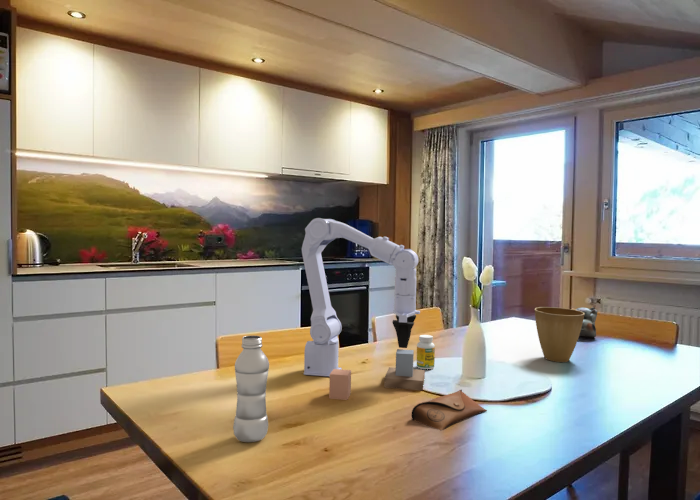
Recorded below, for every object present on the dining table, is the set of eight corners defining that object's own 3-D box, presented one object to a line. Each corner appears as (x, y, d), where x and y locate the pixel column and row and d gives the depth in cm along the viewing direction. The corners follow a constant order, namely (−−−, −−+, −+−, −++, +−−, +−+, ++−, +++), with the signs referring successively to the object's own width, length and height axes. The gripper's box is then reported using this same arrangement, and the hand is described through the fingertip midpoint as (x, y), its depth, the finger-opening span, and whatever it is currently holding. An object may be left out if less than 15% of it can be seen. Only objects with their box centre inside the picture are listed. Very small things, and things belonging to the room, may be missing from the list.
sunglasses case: (442, 431, 99) (430, 399, 101) (419, 438, 104) (407, 408, 106) (489, 410, 111) (477, 382, 114) (466, 418, 116) (455, 390, 118)
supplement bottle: (425, 364, 149) (426, 333, 148) (438, 368, 144) (439, 336, 144) (412, 366, 146) (413, 335, 146) (424, 371, 141) (425, 338, 141)
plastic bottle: (235, 432, 97) (236, 333, 96) (269, 432, 97) (270, 333, 97) (230, 447, 90) (231, 341, 90) (267, 446, 91) (268, 341, 90)
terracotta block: (329, 398, 118) (329, 374, 117) (333, 392, 122) (333, 368, 122) (347, 400, 117) (347, 375, 116) (350, 393, 121) (351, 370, 121)
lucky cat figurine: (551, 333, 197) (557, 302, 201) (575, 344, 199) (580, 313, 204) (578, 330, 183) (584, 296, 188) (604, 341, 185) (608, 308, 190)
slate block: (395, 375, 129) (396, 353, 128) (396, 370, 133) (397, 349, 133) (412, 376, 128) (413, 354, 128) (413, 371, 132) (413, 350, 132)
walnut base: (384, 389, 126) (384, 377, 126) (388, 377, 136) (389, 367, 136) (422, 392, 125) (423, 380, 124) (424, 380, 134) (424, 369, 134)
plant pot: (532, 362, 153) (534, 312, 153) (533, 351, 167) (535, 305, 166) (584, 368, 148) (586, 316, 147) (581, 356, 161) (582, 309, 161)
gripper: (419, 298, 122) (417, 351, 123) (421, 291, 136) (420, 339, 137) (391, 297, 123) (390, 349, 124) (396, 290, 138) (395, 337, 138)
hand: (404, 344), depth 131 cm, fingers open, 7 cm apart
